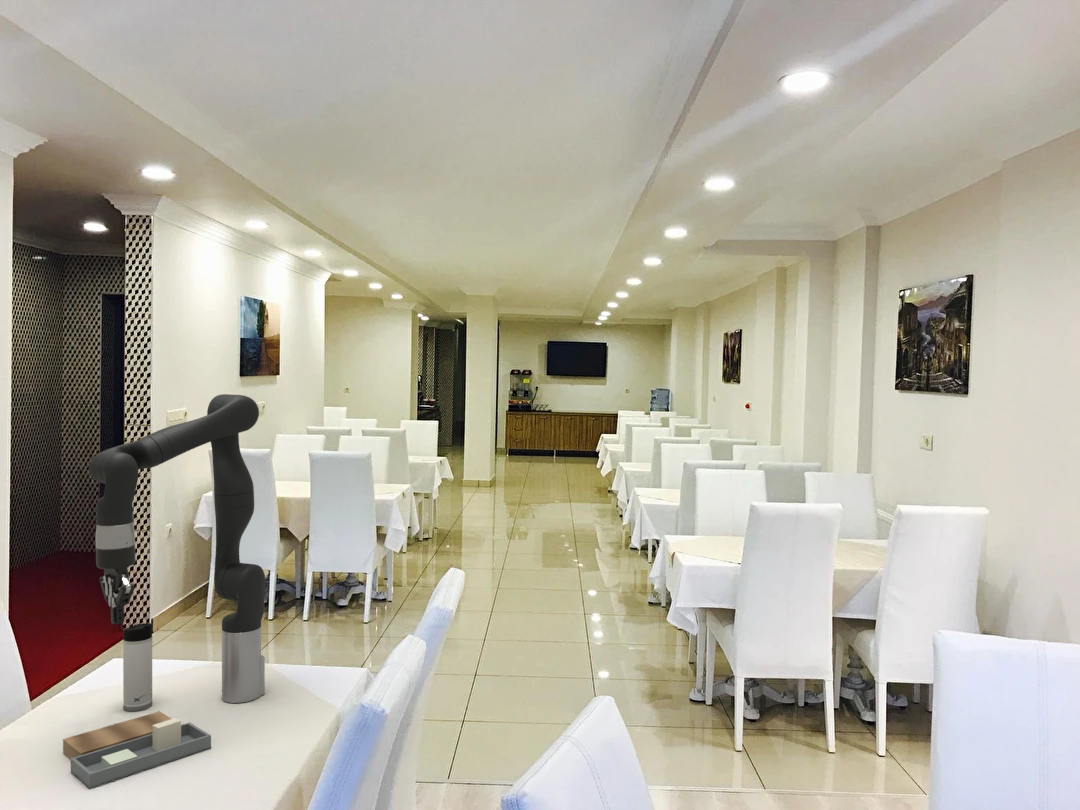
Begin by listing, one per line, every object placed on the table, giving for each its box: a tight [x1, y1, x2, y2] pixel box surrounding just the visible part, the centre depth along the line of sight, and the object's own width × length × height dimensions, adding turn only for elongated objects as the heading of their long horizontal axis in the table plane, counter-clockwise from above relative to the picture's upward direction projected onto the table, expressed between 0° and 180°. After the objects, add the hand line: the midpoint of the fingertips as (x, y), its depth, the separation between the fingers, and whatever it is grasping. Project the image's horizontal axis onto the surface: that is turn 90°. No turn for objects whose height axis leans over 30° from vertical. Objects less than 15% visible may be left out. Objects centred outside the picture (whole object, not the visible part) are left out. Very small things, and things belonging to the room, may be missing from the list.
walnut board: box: [62, 711, 172, 760], centre depth 175 cm, size 20×10×3 cm, turn 138°
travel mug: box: [122, 622, 153, 713], centre depth 196 cm, size 6×7×20 cm
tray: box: [70, 721, 212, 790], centre depth 168 cm, size 24×10×3 cm, turn 138°
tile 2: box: [152, 717, 182, 751], centre depth 174 cm, size 5×5×2 cm
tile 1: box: [101, 749, 138, 769], centre depth 164 cm, size 5×5×2 cm
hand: (117, 623), depth 177 cm, fingers closed
